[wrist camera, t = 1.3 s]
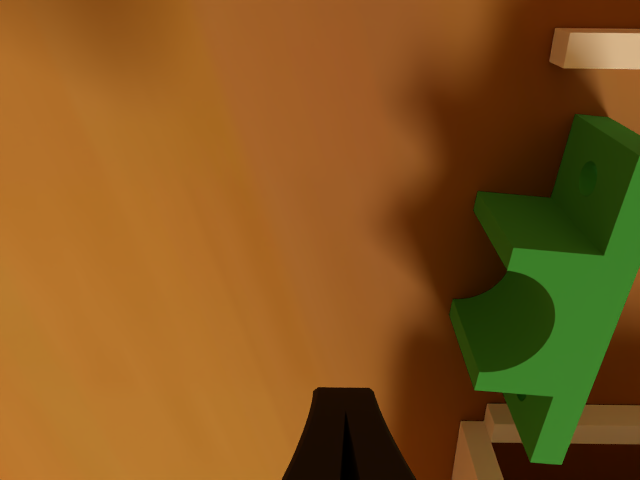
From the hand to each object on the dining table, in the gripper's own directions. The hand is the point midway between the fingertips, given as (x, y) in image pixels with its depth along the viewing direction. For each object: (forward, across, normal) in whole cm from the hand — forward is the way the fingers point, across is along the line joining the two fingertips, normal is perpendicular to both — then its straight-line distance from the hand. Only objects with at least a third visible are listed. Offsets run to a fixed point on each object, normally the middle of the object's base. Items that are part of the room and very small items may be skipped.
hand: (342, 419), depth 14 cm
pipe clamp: (+9, -7, 0) cm, 11 cm away
